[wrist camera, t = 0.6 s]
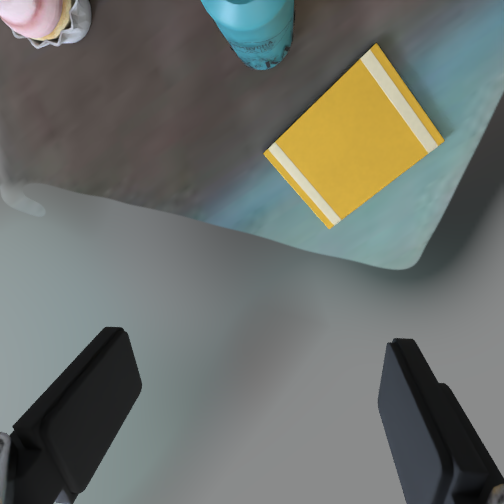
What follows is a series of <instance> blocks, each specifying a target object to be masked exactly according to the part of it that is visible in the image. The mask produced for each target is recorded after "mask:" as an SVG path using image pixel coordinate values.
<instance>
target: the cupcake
mask: <svg viewBox="0 0 504 504" xmlns="http://www.w3.org/2000/svg"><path fill="white" fill-rule="evenodd" d="M0 17H1V19H2V20H3V21H4V22H5V23H6V24H7V25H8V26H9V27H10V28H11V30H12V32H13V34H14V36H15V37H16V38H27V39H28V40H29V41H30V42H31V43H32V45H33V46H34V47H35V48H37V49H39V48H41V47H44V46H46V45H48V44H52V45H54V46H59V45H61V44H62V43H75V42H77V41H79V40H81V39H82V38H84V37H85V35H86V34H87V32H88V30H89V28H90V25H91V6H90V3H89V0H0Z"/></svg>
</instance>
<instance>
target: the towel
mask: <svg viewBox="0 0 504 504" xmlns="http://www.w3.org/2000/svg"><path fill="white" fill-rule="evenodd" d="M444 141H445V140H444V139H443V137H442V136H441V135H440V133H439V132H438V130H437V129H436V127H435V126H434V125H433V123H432V122H431V120H430V119H429V117H428V116H427V114H426V113H425V112H424V110H423V109H422V107H421V106H420V104H419V103H418V102H417V100H416V99H415V97H414V96H413V94H412V93H411V92H410V90H409V89H408V87H407V86H406V84H405V83H404V82H403V80H402V79H401V77H400V76H399V74H398V73H397V72H396V70H395V69H394V67H393V66H392V64H391V63H390V62H389V60H388V59H387V57H386V56H385V54H384V53H383V52H382V50H381V49H380V47H379V46H378V44H377V43H376V44H375V45H373V46H372V47H371V48H370V49H369V50H368V51H367V52H366V53H365V54H364V55H363V56H362V57H361V58H360V59H359V60H358V61H357V62H356V63H355V64H354V65H353V66H352V67H351V68H350V69H349V70H348V71H347V72H346V73H345V74H344V75H343V76H342V77H341V78H340V79H339V80H338V81H337V82H336V83H335V84H334V85H333V86H332V87H331V88H330V89H329V90H327V91H326V92H325V93H324V94H323V95H322V96H321V97H320V98H319V99H318V100H317V101H316V102H315V103H314V104H313V105H312V106H311V107H310V108H309V109H308V110H307V111H306V112H305V113H304V114H303V115H302V116H301V117H300V118H299V119H298V120H297V121H296V122H295V123H294V124H293V125H292V126H291V127H290V128H289V129H288V130H287V131H286V132H285V133H284V134H283V135H281V136H280V137H279V138H278V139H277V140H276V141H275V142H274V143H273V144H272V145H271V146H270V147H269V148H268V149H267V150H266V151H265V152H264V153H263V154H264V155H265V156H266V158H267V159H268V160H269V161H270V162H271V163H272V165H273V166H274V167H275V168H276V169H277V170H278V171H279V173H280V174H281V175H282V176H283V177H284V178H285V179H286V181H287V182H288V183H289V184H290V185H291V186H292V187H293V189H294V190H295V191H296V192H297V193H298V194H299V195H300V197H301V198H302V199H303V200H304V201H305V202H306V203H307V205H308V206H309V207H310V208H311V209H312V210H313V211H314V213H315V214H316V215H317V216H318V217H319V218H320V219H321V221H322V222H323V223H324V224H325V225H326V226H327V227H328V229H330V228H332V227H333V226H334V225H336V224H337V223H338V222H340V221H341V220H342V219H343V218H345V217H346V216H347V215H349V214H350V213H351V212H353V211H354V210H355V209H356V208H358V207H359V206H360V205H362V204H363V203H364V202H366V201H367V200H368V199H369V198H371V197H372V196H373V195H375V194H376V193H377V192H379V191H380V190H381V189H383V188H384V187H385V186H386V185H388V184H389V183H390V182H392V181H393V180H394V179H396V178H397V177H398V176H400V175H401V174H402V173H403V172H405V171H406V170H407V169H409V168H410V167H411V166H413V165H414V164H415V163H417V162H418V161H419V160H420V159H422V158H423V157H424V156H426V155H427V154H428V153H430V152H431V151H432V150H434V149H435V148H436V147H438V146H439V145H440V144H441V143H443V142H444Z"/></svg>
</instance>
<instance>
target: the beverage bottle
mask: <svg viewBox="0 0 504 504" xmlns="http://www.w3.org/2000/svg"><path fill="white" fill-rule="evenodd" d="M201 2H202V4H203V5H204V7H205V9H206V10H207V12H208V13H209V14H210V16H211V17H212V18H213V21H214V20H215V22H216V23H217V25H218V27H219V29H220V30H221V32H222V34H223V35H224V36H225V37H226V39H227V40H228V42H229V43H230V45H231V46H232V48H233V49H234V50H235V52H236V53H237V55H238V56H239V58H240V59H241V60H242V61H243V62H244V64H246V65H248V66H249V67H251V69H252V68H254V69H259V70H264V69H266V70H267V69H270V68H272V67H274V66H276V65H279V62H280V61H281V60H282V59H283V58H284V57H286V56H285V55H286V54H287V52H288V51H289V50H290V45H291V44H292V43H291V41H293V38H294V36H293V30H294V29H293V26H294V25H293V23H294V22H295V12H296V11H295V10H294V0H201ZM295 7H296V6H295ZM293 13H294V14H293ZM293 15H294V21H293ZM215 22H214V24H215ZM218 31H219V30H218ZM224 36H223V37H224ZM225 41H226V40H225ZM230 48H231V47H230ZM232 48H231V49H232ZM233 49H232V50H233ZM237 58H238V57H237ZM239 58H238V59H239ZM246 67H247V66H246ZM266 70H265V71H266Z"/></svg>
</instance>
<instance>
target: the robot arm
mask: <svg viewBox="0 0 504 504" xmlns="http://www.w3.org/2000/svg"><path fill="white" fill-rule="evenodd" d="M141 389H142V382H141V378H140V375H139V371H138V368H137V364H136V361H135V357H134V354H133V350H132V347H131V343H130V340H129V336H128V334H127V332H125V331H124V329H123V328H121V327H105V328H104V329H103V330H102V331H101V332H100V333H99V334H98V335H97V336H96V337H95V338H94V339H93V340H92V342H90V344H89V345H88V346H87V347H86V348H85V349H84V350H83V351H82V352H81V353H80V355H78V356H77V358H76V359H75V360H74V361H73V362H72V363H71V364H70V365H69V366H68V367H67V369H65V370H64V372H63V373H62V374H61V375H60V376H59V377H58V378H57V379H56V380H55V381H54V382H53V383H52V384H51V385H50V387H49V388H48V389H47V390H46V391H45V392H44V393H43V394H42V395H41V396H40V397H39V398H38V399H37V401H36V402H35V403H34V404H33V405H32V406H31V407H30V408H29V409H28V411H26V412H25V413H24V415H23V416H22V417H21V418H20V419H19V420H18V421H17V422H16V423H15V424H14V425H13V428H14V431H13V432H12V433H11V434H10V436H9V435H8V434H7V433H3V432H0V504H53V503H54V502H55V501H56V503H62V504H73V503H74V501H75V499H76V497H77V496H78V494H79V493H81V492H83V491H84V490H85V488H86V487H87V485H88V484H89V482H90V480H91V478H92V477H93V475H94V473H95V471H96V470H97V468H98V466H99V464H100V463H101V461H102V459H103V457H104V455H105V454H106V452H107V450H108V449H109V447H110V445H111V443H112V441H113V440H114V438H115V436H116V435H117V433H118V431H119V429H120V428H121V426H122V424H123V422H124V420H125V419H126V417H127V415H128V414H129V412H130V410H131V408H132V406H133V405H134V403H135V401H136V399H137V398H138V396H139V394H140V392H141ZM378 408H379V413H380V416H381V419H382V423H383V426H384V429H385V432H386V436H387V439H388V443H389V446H390V449H391V453H392V456H393V459H394V463H395V466H396V469H397V473H398V476H399V479H400V483H401V486H402V489H403V493H404V496H405V500H406V503H407V504H504V478H503V476H502V475H501V473H500V471H499V470H498V468H497V466H496V465H495V463H494V461H493V460H492V458H491V456H490V455H489V453H488V451H487V449H486V448H485V446H484V444H483V443H482V441H481V439H480V438H479V436H478V435H477V433H476V431H475V429H474V428H473V426H472V424H471V423H470V421H469V419H468V417H467V416H466V414H465V412H464V411H463V409H462V407H461V406H460V404H459V402H458V401H457V399H456V397H455V396H454V394H453V392H452V391H451V389H450V388H449V387H448V386H447V385H446V384H444V383H438V381H437V379H436V378H435V376H434V374H433V373H432V371H431V369H430V367H429V365H428V363H427V362H426V360H425V358H424V357H423V354H422V353H421V351H420V349H419V347H418V346H417V344H416V342H415V341H414V340H413V339H400V338H395V339H393V341H392V343H387V346H386V353H385V359H384V365H383V371H382V377H381V383H380V389H379V396H378Z"/></svg>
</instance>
